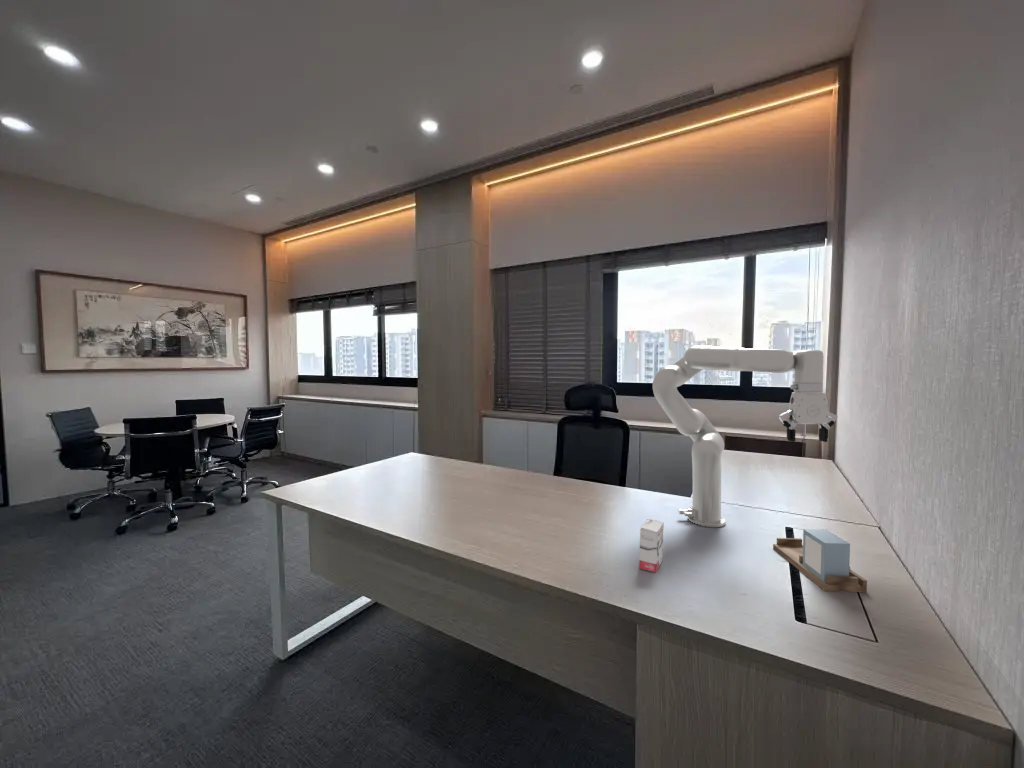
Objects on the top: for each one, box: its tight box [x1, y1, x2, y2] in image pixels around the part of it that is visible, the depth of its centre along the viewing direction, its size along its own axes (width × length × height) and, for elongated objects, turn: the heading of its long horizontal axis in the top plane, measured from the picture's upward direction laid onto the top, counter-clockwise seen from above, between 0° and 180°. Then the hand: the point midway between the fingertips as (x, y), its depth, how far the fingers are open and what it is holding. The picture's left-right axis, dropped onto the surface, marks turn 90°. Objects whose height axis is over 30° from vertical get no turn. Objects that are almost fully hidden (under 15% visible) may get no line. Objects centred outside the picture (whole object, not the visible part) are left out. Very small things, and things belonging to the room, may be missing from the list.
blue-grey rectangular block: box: [802, 528, 851, 581], centre depth 110 cm, size 6×9×10 cm
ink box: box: [638, 519, 665, 574], centre depth 119 cm, size 9×5×12 cm, turn 148°
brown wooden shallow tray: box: [772, 537, 868, 593], centre depth 116 cm, size 10×24×4 cm, turn 175°
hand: (807, 441), depth 134 cm, fingers open, 9 cm apart
